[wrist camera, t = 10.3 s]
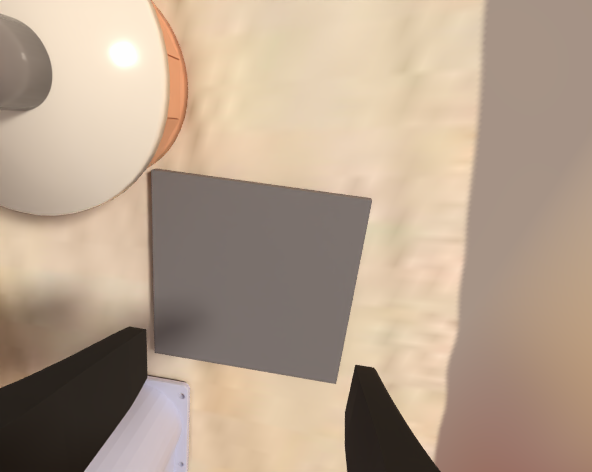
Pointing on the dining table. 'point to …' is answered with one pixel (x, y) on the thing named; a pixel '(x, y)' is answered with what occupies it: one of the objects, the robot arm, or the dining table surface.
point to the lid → (78, 101)
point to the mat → (254, 272)
